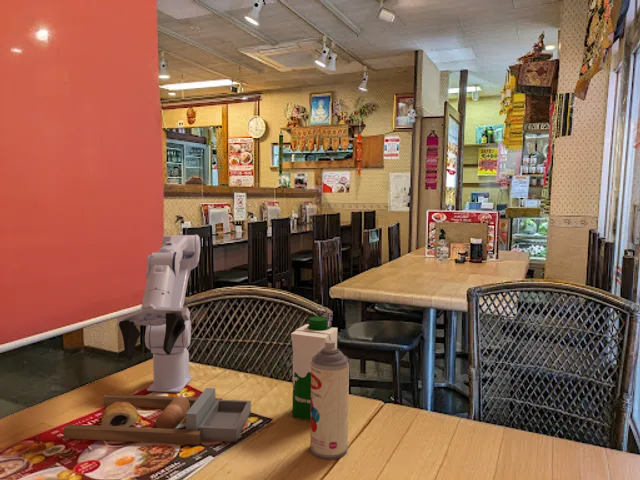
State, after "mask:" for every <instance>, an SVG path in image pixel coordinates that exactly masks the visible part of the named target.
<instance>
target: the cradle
mask: <svg viewBox="0 0 640 480" xmlns="http://www.w3.org/2000/svg"><path fill="white" fill-rule="evenodd" d="M251 403H252V402H251V400H241V399H238V400H237V399H222V400H217V401H216V402H215V404H214V405H213V407H212V408H211V410H210V411H209V413H208V414H207V415H206V417H205V418H204V420H203V421H202V423H201V424H200V426H199V427H198V430H201V441H207V442H209V441H210V442H211V441H212V442H213V441H214V442H227V443H228V442H230V443H231V442H232V443H236V442H237V441H238V439H239V438H240V435H241V434H242V431H243V430H244V426H245V425H246V423H247V421H248V419H249V416H250V415H251V412H252V409H251V408H252V407H251V406H252V405H251Z"/></svg>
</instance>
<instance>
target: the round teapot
mask: <svg viewBox="0 0 640 480" xmlns="http://www.w3.org/2000/svg"><path fill="white" fill-rule="evenodd" d="M33 438H34V439H33V444H31V445H30V446H29V448H28V453H29V454H31V455H36V454H41V453H44V452H45V451H47V444H46V443H45V442H44V441H40V439H39V437H38V436H36V435H34V437H33Z"/></svg>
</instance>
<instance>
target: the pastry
mask: <svg viewBox="0 0 640 480" xmlns="http://www.w3.org/2000/svg"><path fill="white" fill-rule="evenodd" d="M136 408H137V407H134V406H133V405H131V404H130V403H129V402H115V403H113V404H111V405H109V406H106V407H105V408H104V410H103V411H102V414H101V425H100V426H117V427H132V426H133V425H135V424H136V423H137V421H138V417H139V414H138V409H136Z"/></svg>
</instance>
